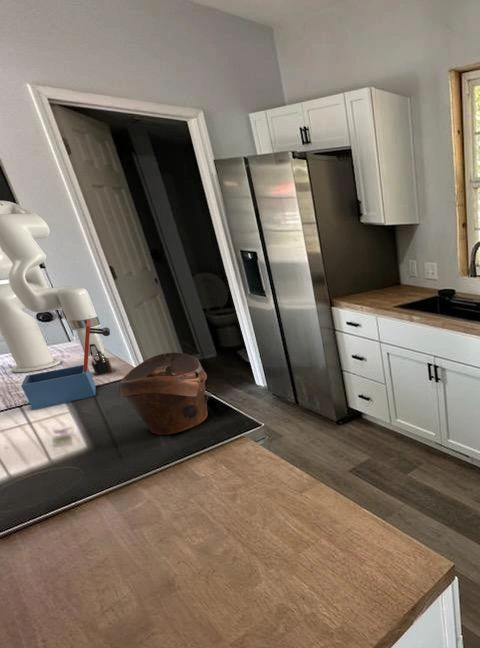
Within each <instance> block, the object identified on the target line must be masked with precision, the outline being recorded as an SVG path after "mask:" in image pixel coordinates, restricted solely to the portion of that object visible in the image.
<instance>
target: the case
mask: <svg viewBox="0 0 480 648" xmlns="http://www.w3.org/2000/svg"><path fill="white" fill-rule="evenodd" d="M207 379H208V375H207V373H206V372H205V370H204V367H202V364H201V362H200V361H199V359H198V358H197V357H195V356H193V355H192V354H187V353H183V352H164V353H161V354H160V353H159V354H157V355H154V356H151V357H149V358H147V359H145V360H144V361H142V362H141V363H139V364H138V365H136V366H135V367H133V368H132V369H131V370H130V371H129V372H128V373H127V374H126V375H125V376H123V378H122V379H121V380H120V381H119V384H118V394H119V396H120V397H122V398H126V400H127V401H128V402H129V404H130V405H131V406H132V409H134V410H135V412H136V413H137V415H138V416H139V417H140V418H141V420H142V421H143V422H144V424H145V425H146V426H147V428H148V429H149V431H150V432H151V433H152V434H155V435H159V436H166V435H174V434H177V433H180V432H185V431H187V430H189V429H192V428H194V427H196V426H198V425H200V424H202V422H204V421H205V420H206V419H207V418H208V415H209V414H208V412H209V411H208V401H209V397H212V396H213V394H212V392H209V391H207V390H206V381H207Z"/></svg>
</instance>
